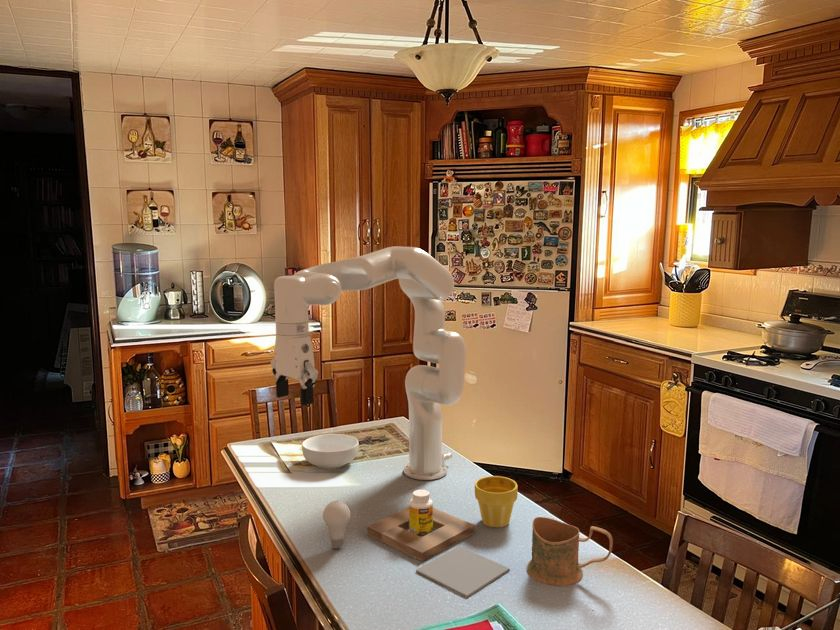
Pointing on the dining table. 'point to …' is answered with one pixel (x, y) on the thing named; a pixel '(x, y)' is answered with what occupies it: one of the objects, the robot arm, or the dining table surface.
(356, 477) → the dining table surface
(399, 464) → the dining table surface
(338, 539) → the lightbulb
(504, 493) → the plant pot
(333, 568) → the dining table surface
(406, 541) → the wooden square frame
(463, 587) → the grey mat
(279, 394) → the robot arm
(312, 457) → the cereal bowl
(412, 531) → the supplement bottle
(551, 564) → the mug
